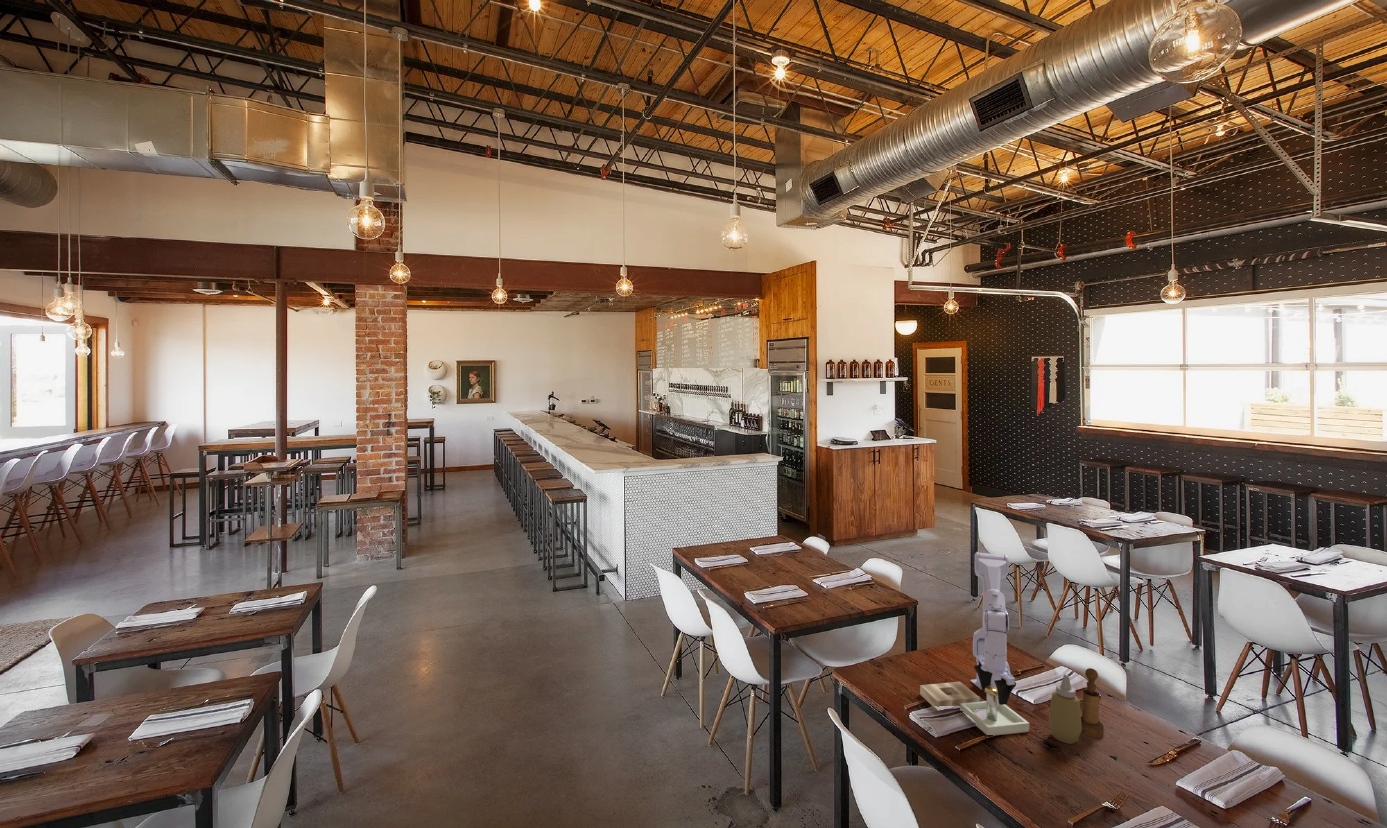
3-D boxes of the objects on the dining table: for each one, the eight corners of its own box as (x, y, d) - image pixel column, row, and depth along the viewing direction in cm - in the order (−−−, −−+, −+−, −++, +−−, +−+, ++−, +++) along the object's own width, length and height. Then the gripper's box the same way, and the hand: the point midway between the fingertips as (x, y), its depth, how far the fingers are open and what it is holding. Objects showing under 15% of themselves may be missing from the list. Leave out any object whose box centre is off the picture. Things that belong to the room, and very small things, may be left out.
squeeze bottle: (1048, 741, 167) (1050, 678, 166) (1047, 727, 174) (1048, 666, 174) (1083, 749, 163) (1085, 684, 163) (1080, 734, 171) (1081, 672, 170)
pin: (993, 713, 180) (994, 685, 180) (1002, 721, 176) (1003, 691, 176) (981, 714, 180) (982, 686, 179) (989, 722, 176) (990, 692, 175)
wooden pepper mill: (1108, 738, 169) (1109, 675, 168) (1082, 736, 170) (1084, 673, 169) (1097, 725, 175) (1099, 664, 174) (1072, 723, 176) (1074, 662, 176)
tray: (998, 707, 185) (999, 699, 185) (1029, 731, 172) (1029, 723, 172) (960, 711, 183) (960, 703, 183) (988, 735, 170) (988, 727, 170)
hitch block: (959, 690, 195) (960, 681, 195) (979, 706, 186) (979, 697, 185) (920, 694, 193) (920, 685, 193) (937, 710, 183) (937, 701, 183)
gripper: (967, 642, 183) (966, 686, 184) (999, 664, 169) (998, 711, 169) (988, 640, 184) (987, 684, 185) (1021, 662, 170) (1020, 709, 171)
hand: (994, 697), depth 177 cm, fingers open, 7 cm apart
